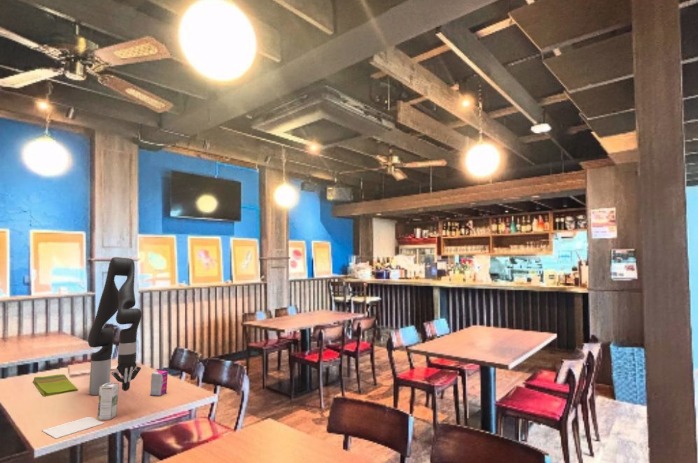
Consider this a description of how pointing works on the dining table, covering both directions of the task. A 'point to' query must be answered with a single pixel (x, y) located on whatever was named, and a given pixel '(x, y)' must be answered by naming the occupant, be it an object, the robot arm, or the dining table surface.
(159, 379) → the supplement box
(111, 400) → the syrup box
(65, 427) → the white rectangular panel
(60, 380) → the dish towel
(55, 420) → the dining table surface
